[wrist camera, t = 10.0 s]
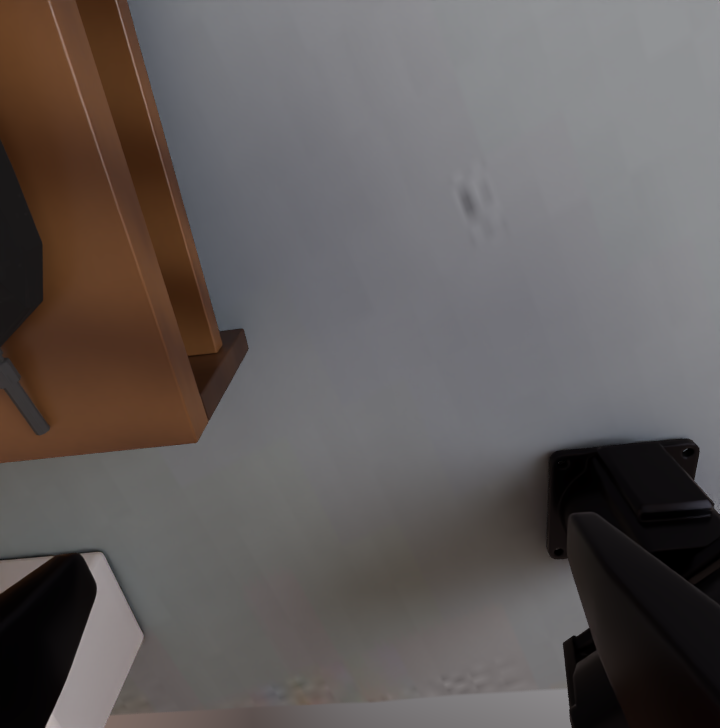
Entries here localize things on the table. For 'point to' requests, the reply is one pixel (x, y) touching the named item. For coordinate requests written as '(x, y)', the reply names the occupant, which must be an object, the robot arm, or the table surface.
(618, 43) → the table surface
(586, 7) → the table surface
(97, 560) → the medicine bottle
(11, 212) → the gaming mouse
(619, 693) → the robot arm
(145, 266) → the walnut wood stand
